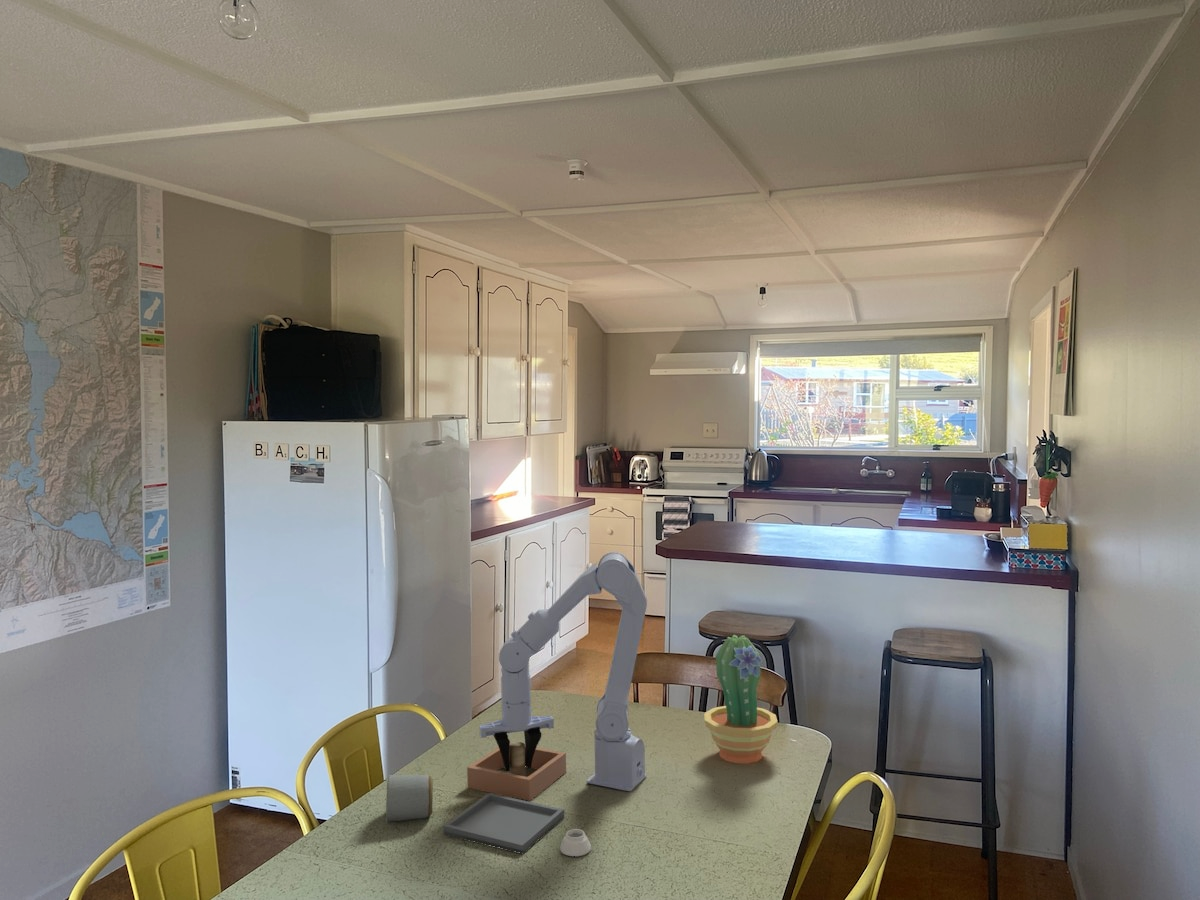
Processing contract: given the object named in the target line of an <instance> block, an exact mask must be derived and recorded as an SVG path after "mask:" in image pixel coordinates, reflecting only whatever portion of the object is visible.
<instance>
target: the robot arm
mask: <svg viewBox="0 0 1200 900" xmlns="http://www.w3.org/2000/svg"><path fill="white" fill-rule="evenodd" d="M597 565H598V566H597ZM603 590H604V591H606V592H607V593H609V594H610V595H611V596H614V598H615V599H616V601H617V602H618V603H619V605H620V606H621V614H620V618H619V622H618V627H617V628H618V629H617V634H616V638H615V643H614V649H613V654H612V658H611V662H610V668H609V673H608V676H607V682H606V685H605V688H604V689H605V690H604V694H603V695H602V697H600V699H599V700H598V703H597V704H596V719H595V730H594V732H593V733H594V737H593V738H594V739H593V740H594V741H593V742H594V774H593V775H591V776H590V777H589V778H588V779H587V780H586V783H587V784H591V785H596V786H600V787H606V788H610V789H611V788H612V789H615V790H621V791H626V792H632V791H633V790H634V789H635V788H636V786H638V785H639V784H640V783H641V782H642V781H643V780H644V779H645V778H646V777H647V773H646V768H645V767H646V765H645V764H646V763H645V762H646V758H645V757H646V756H645V751H646V750H645V743H644V740H643V739H642V738H638V737H637V736H634V735H633V734H632V729H631V728H630V727H629V724H630V722H629V715H628V713H629V706H628V704H629V697H630V690H631V685H632V680H633V674H634V671H635V665H636V660H637V656H638V651H639V645H640V640H641V636H642V630H643V626H644V620H645V616H646V611H647V607H648V599H647V596H646V593H645V591H644V588H643V586H642V584H641V581H640V578H639V577H638V574H637V572H636V569H635V567H634V565H633V564H632V563H631V562H630V560H628V558H627V557H626V556H625V555H624V554H622V553H621V552H616V551H611V552H608V553H606V554H604V555H603V556H602V557H601V558H600V559H599V561H598V562H597V561H596V562H594V563H593V564H592V565H590V566H589V568H587V569H586V570H585V571H583V573H581V574H580V575H579V576H578V577H577V578H576V580H574V582H573V583H572V584H571V585H570V586H569V587H568V588H567V589H566V590H565V591H564V592H563V594H562V595H560V597H558V599H557V600H556V601H554V603H553V604H552V605H551V606H550V607H549V608H547V609H538V610H537V611H535V612H534V611H531V612H530V614H528V616H527V620H526V622H525V623H524V624H523V625H522V626H520V627H519V628H518V630H514V631H513V632H512V633H510V636H511V637H509V638H507V639H506V640H505V642H504V643H503V645H502V646H501V648H500V651H499V653H498V655H499V656H498V661H499V664H500V666H501V669H500V671H501V677H500V682H501V683H500V687H501V689H500V690H501V719H499V720H495V721H492V722H488V723H483V724H479V725H478V731H479V732H478V733H479V736H480V738H481V739H484V738H487V737H488V736H493V738H494V740H495V742H496V744H497V746H498V747H499V749H500V752H501V755H502V759H503V763H504V767H503V769H504V772H505V773H509V772H510V762H509V745H510V743H511V741H510V739H509V735H508V734H512V733H518V732H523V733H524V734H523V736H524V744H525V765H526V766H527V767H526V768H527V769H532V768H531V765H532V759H533V756H534V752H535V749H536V748H538V745H539V743H540V740H541V738H542V732H541V730H542V729H549V730H551V729H554V728H555V726H554V724H555V723H554V722H555V721H554V720H555V719H554V717H553V716H552V715H545V716H540V715H539V716H537V715H536V716H535V715H533V716H532V701H531V699H532V697H531V696H532V695H531V694H532V693H531V692H532V690H531V675H530V658H531V656H533V655H536V654H537V653H538V652H539V651H541V649H542V648H543V647H544V646H545V645H547V643H549V641H551V640H552V638H553V637H555V636H556V634H558V632H559V631H560V621H561V620H562V619H564V618H565V617H566V616H567V615H568V614H569V613H570V612H571V611H572V610H573V609H575V608H576V606H577V605H579V603H581V602H582V601H583V600H584V599H585V598H586V597H587V596H589V595H591V596H592V595H598V594H602V591H603ZM498 747H497V748H498Z"/></svg>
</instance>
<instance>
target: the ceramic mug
mask: <svg viewBox="0 0 1200 900" xmlns="http://www.w3.org/2000/svg"><path fill="white" fill-rule="evenodd" d="M433 786H434V778H433V777H432V776H431V775H426V774H389V775H388V776H387V782H386V806H385V811H386V812H385V820H386V822H395V821H396V822H397V821H398V822H399V821H408V820H409V821H410V820H419V819H424V818H428V817H430V816H431V815H432V814H433V803H434V802H433V799H434V797H433V796H434V795H433V793H434V792H433V791H434V790H433V789H434V787H433Z"/></svg>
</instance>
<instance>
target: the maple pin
mask: <svg viewBox="0 0 1200 900" xmlns="http://www.w3.org/2000/svg"><path fill="white" fill-rule="evenodd" d="M510 743H511V744H510V771H509V773H510V774H515V775H520V776H525V777H526V767H525V742H523V741H522V742H521V741H515V742H510Z"/></svg>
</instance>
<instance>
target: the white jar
mask: <svg viewBox="0 0 1200 900" xmlns="http://www.w3.org/2000/svg"><path fill="white" fill-rule="evenodd" d="M561 841H562V842H561V844H560V845H559V847H560V848H559V849H560V852H561V853H562V854H563V855H565V856H569V857H574V856H575V857H581V856H585V855H587V854H588V853H590V852H591V850H592V844H591V842H590V840H589V838H588V836H587V835H586V833H585V831H584V830H582V829H579V828H572V829H569V830H568V831H566V833H565V835H564V837H563V839H562V840H561Z"/></svg>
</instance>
